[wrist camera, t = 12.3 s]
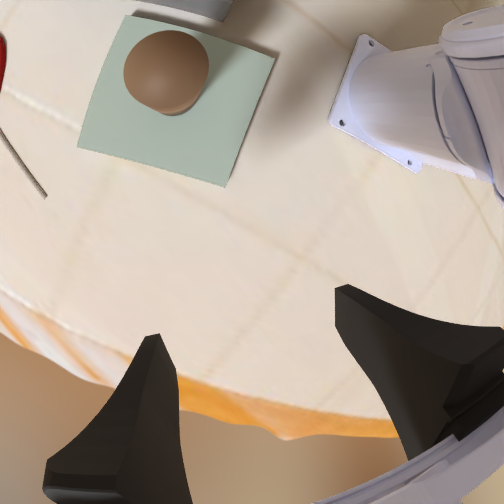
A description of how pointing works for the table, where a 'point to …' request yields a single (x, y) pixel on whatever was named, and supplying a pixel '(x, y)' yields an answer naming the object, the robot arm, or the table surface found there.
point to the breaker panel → (198, 6)
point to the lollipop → (0, 67)
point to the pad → (182, 126)
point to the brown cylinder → (167, 71)
